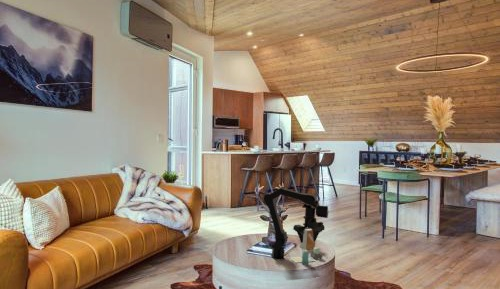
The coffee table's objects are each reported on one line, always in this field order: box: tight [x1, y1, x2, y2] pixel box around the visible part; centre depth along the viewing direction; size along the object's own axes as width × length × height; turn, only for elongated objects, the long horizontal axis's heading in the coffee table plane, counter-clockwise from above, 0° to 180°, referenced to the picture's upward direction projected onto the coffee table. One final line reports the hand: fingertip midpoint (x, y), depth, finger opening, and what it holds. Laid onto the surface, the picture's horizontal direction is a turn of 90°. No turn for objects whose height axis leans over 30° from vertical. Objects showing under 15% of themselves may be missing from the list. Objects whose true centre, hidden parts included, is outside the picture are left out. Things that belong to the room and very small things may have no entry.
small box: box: [299, 229, 316, 250], centre depth 239 cm, size 8×6×13 cm
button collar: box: [310, 251, 323, 260], centre depth 221 cm, size 5×5×2 cm
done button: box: [313, 246, 321, 255], centre depth 221 cm, size 4×4×4 cm
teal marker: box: [301, 249, 310, 266], centre depth 209 cm, size 4×4×8 cm
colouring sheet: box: [289, 256, 316, 264], centre depth 216 cm, size 13×8×1 cm, turn 107°
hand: (308, 242), depth 211 cm, fingers open, 9 cm apart
